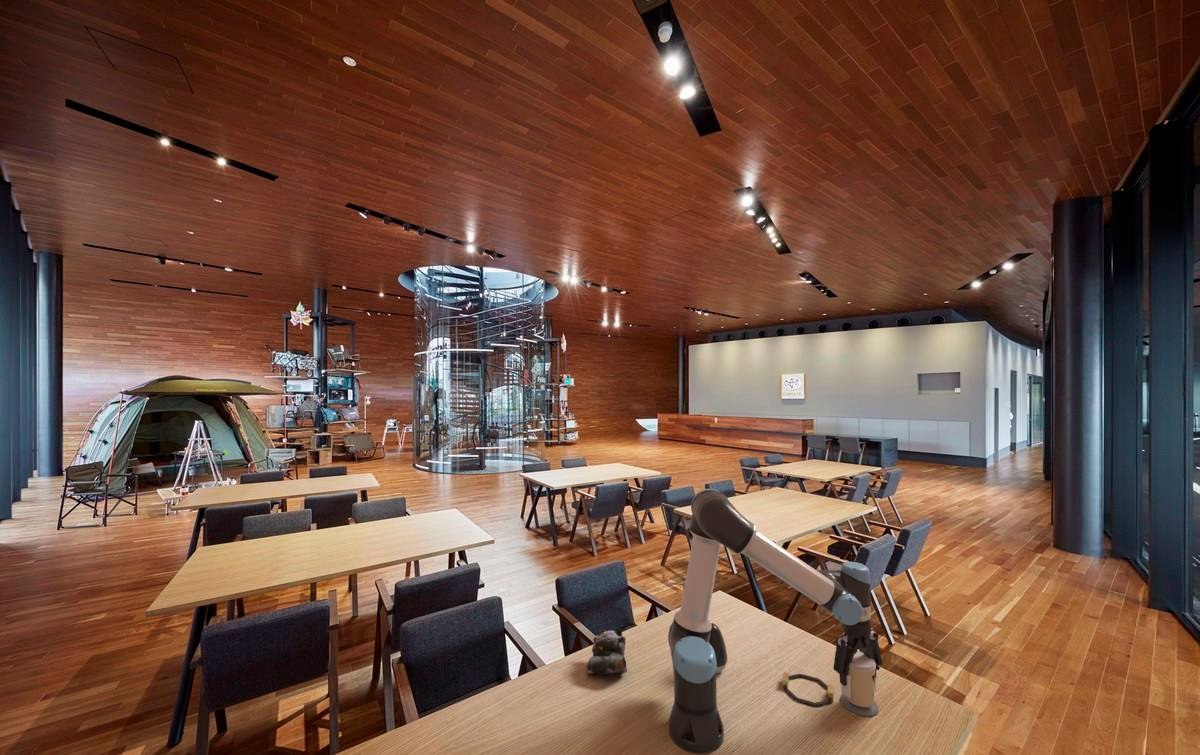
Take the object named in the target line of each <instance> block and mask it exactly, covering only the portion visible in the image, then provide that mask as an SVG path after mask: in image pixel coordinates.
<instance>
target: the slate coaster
mask: <svg viewBox="0 0 1200 755" xmlns="http://www.w3.org/2000/svg"><path fill="white" fill-rule="evenodd" d="M839 699H840V703H841V705H842V706H843V707H844V708H845V709H846V710H847V711H849V712H850V713H853V714H855V715H857V716H860V717H865V718H866V717H867V718H872V717H875V716H877V715H878V714H879V712H880V711H879V705H878V704H877V702H876V701H875V700H874V701H873V705H872V706H870V707H860V706H857V705H854V704H852V703H851V702H849V701H848V700H847V699H846V698H845V696H844V694H843V693H841V694H840V698H839Z"/></svg>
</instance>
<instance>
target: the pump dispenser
mask: <svg viewBox="0 0 1200 755" xmlns="http://www.w3.org/2000/svg"><path fill="white" fill-rule="evenodd" d="M710 623H711V625H712V628H711V634H710V640H709V644H710V645H711V646H712V647H713V649H714V652H715V657H716V662H717V666H716V674H719V673H721V672H722V671H723V670H724V669H725V667H726V666H727V663H728V652H727V648H726V646H727V645H726V643H725V639H724V636H723V633H722V631H721V630H720V628H719V626H718V625H717V624H715V623H714V622H710Z"/></svg>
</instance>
